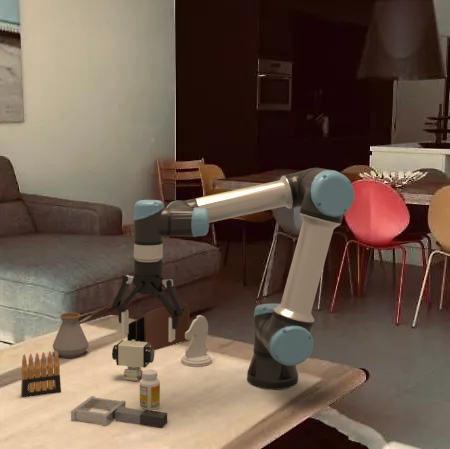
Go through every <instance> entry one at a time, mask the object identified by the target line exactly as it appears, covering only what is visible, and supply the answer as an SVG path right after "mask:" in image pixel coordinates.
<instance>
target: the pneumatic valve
mask: <svg viewBox="0 0 450 449" xmlns="http://www.w3.org/2000/svg"><path fill="white" fill-rule="evenodd" d="M155 352H156V350H154V348H151V346H150V343H149V342H140V341H138V342H137V341H135V340H132V341H127V340H120V341H119V342H118V343H116V344H114V345H113V347H112V352H111V356H112V360H114V361H115V362H116V366H121V367H123V366H124V367H127V368H125V369H124V371H123V377H124V378H125V380H126V381H132V382H138V381H140V380H139V379H142V378H143V377H142V372H143V371H144V370H143V369H142V368H147V367H148V365H150V364H152V363H154V360H155V354H156V353H155Z"/></svg>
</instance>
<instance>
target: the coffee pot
mask: <svg viewBox="0 0 450 449" xmlns="http://www.w3.org/2000/svg"><path fill="white" fill-rule="evenodd" d="M112 304H113V302H110V303H109V304H108V305H105V306H104V307H101V308H99V309H97V310H96V311H95V312H93V313H91V314H90V315H88V316H86V317H84V318H83V319H81V320H80V321H79V318H80V317H81V314H80V313H77V312H66V313H61V314H60V315H59V317H60V318H61V321H62V322H61V323H60V327H59V329H58V332H57V334H56V337H55V339H54V341H53V343H52V349H53V351H54V353H55V352H56V351H57V352H58V356H60V357H62V358H74V357H75V358H77V357H79V356H82V355H83V354H84V353H85V352H86V351H87V350H88V348H89V342H88V340H87V338H86V335H85V333H84V330H83V329H82V327H81V324H83V323H84V322H86V321H89V319H91V318H93V317H95V316H97V315H99V314H101V313H103V312H104V311H105V310H108V309H109V307H112Z"/></svg>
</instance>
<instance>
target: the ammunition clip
mask: <svg viewBox="0 0 450 449" xmlns="http://www.w3.org/2000/svg"><path fill="white" fill-rule="evenodd" d="M53 360H54V361H53ZM21 361H22V362H21V387H20V388H21V389H20V392H21V393H20V395H21V397H22V398H23V397H24V398H29V397H30V396H31V397H38V396H44V395H51V394H52V395H53V394H59V393H62V386H61V374H60V373H61V372H60V369H61V368H60V358H59V354H58V352H57V351H56V352H55V351H54V359H53V354H52V352H51V351H49V352H48V356H47V359H46V355H45V352H44V351H43V352H42V353H41V361H40V356H39V353H38V352H36V354H35V358H33V355H32V353H30V354H29V356H28V360H27V356H26V355H25V354H23V355H22V360H21ZM27 361H28V364H27ZM40 362H41V364H40ZM31 397H30V398H31Z"/></svg>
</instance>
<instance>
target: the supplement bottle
mask: <svg viewBox="0 0 450 449" xmlns="http://www.w3.org/2000/svg"><path fill="white" fill-rule="evenodd" d="M142 371H143V372H142V378H140V380H139V408H141V410H152V411H154V410H157V409H158V408H159V407H160V406H161V400H160V399H161V398H160V397H161V396H160V395H161V393H160V392H161V387H160V386H161V382H160V380H159V378H158V371H157V370H155V369H145V370H142Z"/></svg>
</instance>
